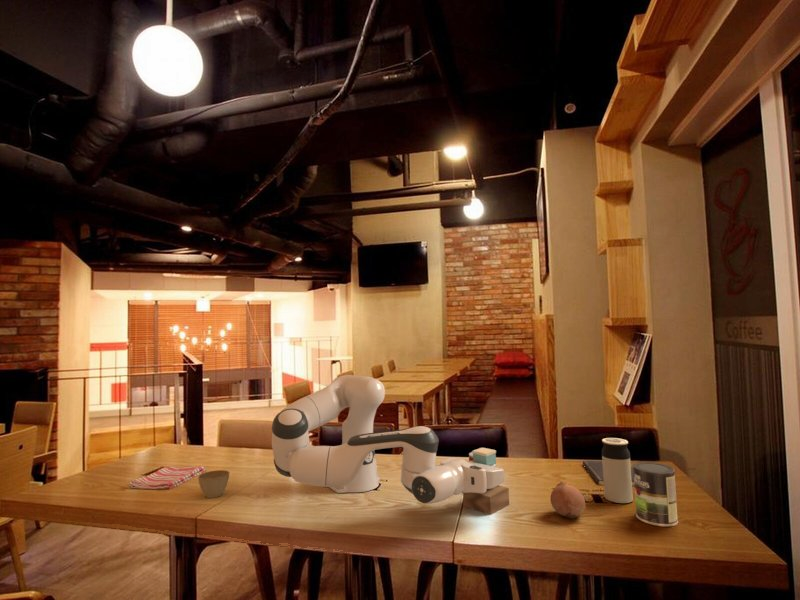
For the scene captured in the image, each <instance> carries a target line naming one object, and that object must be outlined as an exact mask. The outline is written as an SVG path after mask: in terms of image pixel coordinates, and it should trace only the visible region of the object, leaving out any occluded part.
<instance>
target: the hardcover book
mask: <svg viewBox="0 0 800 600" xmlns="http://www.w3.org/2000/svg"><path fill="white" fill-rule="evenodd" d="M583 465H584V466H585V467H584V466H583ZM582 466H583V467H584V468H585V470H586V469H587V470H588V471H587V470H586V471H587V472H588V474H589V475H590V476H591V477H592V479H593V481H595V482H596V484H597V485H598V486H604V479H603V463H602V460H583V461H582ZM631 479H632V487H633V486H634V487H635V483H634V469H633V465H631Z"/></svg>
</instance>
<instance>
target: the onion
mask: <svg viewBox="0 0 800 600" xmlns="http://www.w3.org/2000/svg"><path fill="white" fill-rule="evenodd" d="M549 497H550V503H551V506H552V508H553V509H554V511H555V512H557V514H559V515H561V516H562V517H564V518H566V519H572V520H575V518H577V517H579V516H581V514H582V512H584V511H585V510H586V497H585V496H584V494H583V492H582V491H581V490H580V489H578V488H577V487H576V486H574V485H571V484H567V483H566V482H564V481H561V482H560V483H557V484H556V486H555V487H554V488H553V489H552V491H551V493H550V496H549Z"/></svg>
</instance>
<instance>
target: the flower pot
mask: <svg viewBox="0 0 800 600" xmlns="http://www.w3.org/2000/svg"><path fill="white" fill-rule="evenodd" d="M230 474H231V473H230V471H229V470H224V469H222V470H221V469H220V470H210V471H206V472H205V471H204V472H202V473H201V474H199V475H197V478H198V482H199V483H198V484H199V486H200V490H201V492H202V493H203V495H204V496H205V498H207V499H214V498H218V497H220V496H222V495H223V493H224V492H225V490H226V487H227V486H228V485H227V484H228V482H229V479H230Z"/></svg>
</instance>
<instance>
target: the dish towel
mask: <svg viewBox="0 0 800 600" xmlns="http://www.w3.org/2000/svg"><path fill="white" fill-rule="evenodd" d="M206 470H207V468H206V466H190V467H189V466H188V467H177V466H166V467H163V468H162V467H161V468H160V469H158V470H157V471H155V472H153V473H150V474H149V475H146V476H141V477H139V478H136V479H131V480H130V482H129V487H130V489H137V490H138V489H140V490H142V489H143V490H172V489H173V488H176V487H178V486H179V485H182V484H184V483H185V482H188V481H190V480H192V479H193V478H195V477H198V476H199V475H201V474H203V473H204V472H205V471H206Z"/></svg>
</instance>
